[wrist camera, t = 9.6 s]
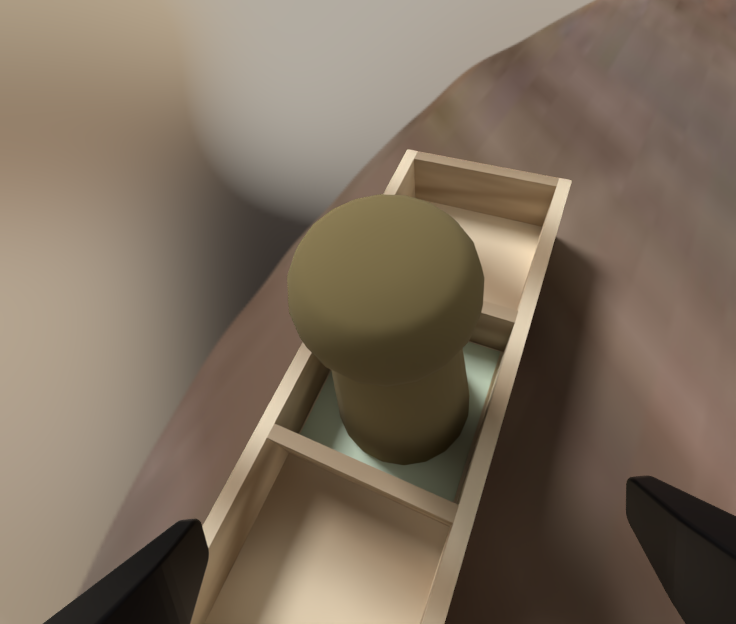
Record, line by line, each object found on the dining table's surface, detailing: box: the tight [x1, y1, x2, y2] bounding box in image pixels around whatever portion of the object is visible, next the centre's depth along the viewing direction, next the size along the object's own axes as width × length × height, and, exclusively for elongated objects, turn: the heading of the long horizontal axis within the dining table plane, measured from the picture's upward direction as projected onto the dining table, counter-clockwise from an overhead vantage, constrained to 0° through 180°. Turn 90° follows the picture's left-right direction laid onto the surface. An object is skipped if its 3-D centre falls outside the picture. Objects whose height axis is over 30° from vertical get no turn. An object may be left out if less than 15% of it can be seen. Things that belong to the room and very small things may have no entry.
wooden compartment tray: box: [190, 150, 572, 624], centre depth 19 cm, size 25×9×4 cm, turn 156°
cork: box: [287, 194, 485, 465], centre depth 14 cm, size 6×6×11 cm
